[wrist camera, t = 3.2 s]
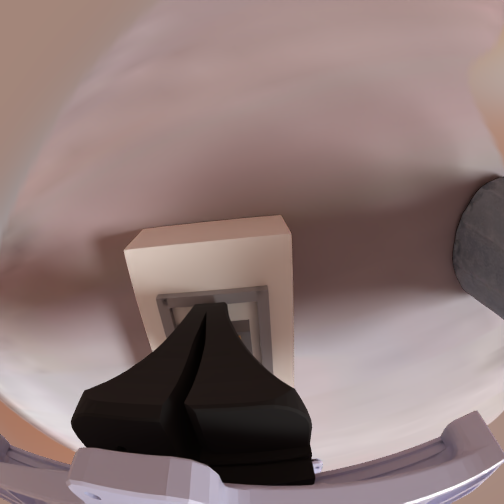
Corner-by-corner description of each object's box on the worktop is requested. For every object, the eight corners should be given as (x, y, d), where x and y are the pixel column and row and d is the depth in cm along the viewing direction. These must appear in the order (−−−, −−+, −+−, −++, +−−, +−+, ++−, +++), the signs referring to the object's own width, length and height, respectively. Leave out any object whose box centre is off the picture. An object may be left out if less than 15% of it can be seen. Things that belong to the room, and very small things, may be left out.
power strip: (287, 444, 22) (291, 475, 19) (207, 449, 22) (205, 481, 19) (280, 214, 15) (293, 236, 12) (142, 228, 15) (120, 253, 12)
